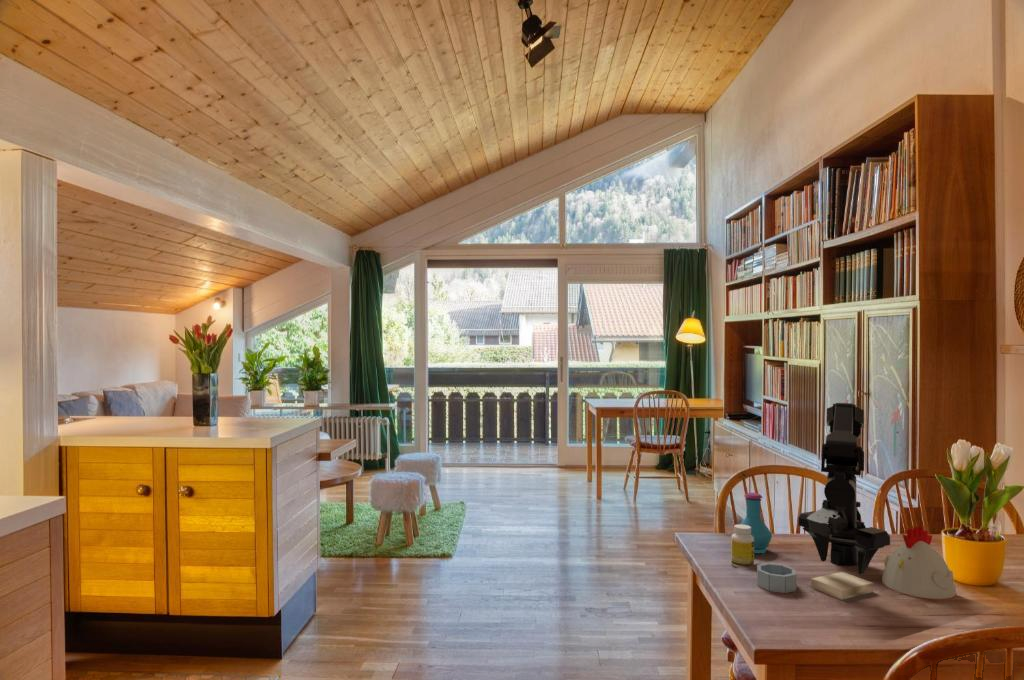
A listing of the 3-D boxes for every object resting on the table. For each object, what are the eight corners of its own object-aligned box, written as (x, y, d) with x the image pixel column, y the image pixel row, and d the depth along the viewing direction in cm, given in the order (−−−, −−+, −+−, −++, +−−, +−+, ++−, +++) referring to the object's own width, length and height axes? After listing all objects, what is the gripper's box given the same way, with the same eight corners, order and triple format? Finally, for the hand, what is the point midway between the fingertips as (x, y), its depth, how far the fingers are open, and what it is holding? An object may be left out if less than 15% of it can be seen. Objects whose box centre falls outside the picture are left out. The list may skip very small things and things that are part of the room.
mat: (837, 585, 146) (837, 578, 146) (878, 601, 137) (878, 594, 137) (806, 592, 141) (806, 585, 141) (847, 609, 132) (847, 602, 132)
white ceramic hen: (868, 587, 145) (867, 521, 145) (910, 579, 150) (910, 515, 150) (926, 610, 132) (926, 538, 132) (971, 601, 137) (971, 532, 137)
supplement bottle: (755, 570, 155) (755, 530, 155) (732, 568, 156) (732, 528, 157) (752, 562, 161) (752, 524, 161) (729, 561, 162) (729, 522, 162)
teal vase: (768, 557, 165) (768, 499, 165) (731, 551, 169) (731, 495, 170) (774, 547, 172) (774, 492, 172) (739, 542, 177) (739, 488, 177)
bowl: (775, 583, 147) (775, 561, 147) (804, 595, 140) (803, 572, 140) (749, 588, 143) (749, 566, 144) (777, 601, 136) (777, 578, 136)
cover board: (842, 580, 145) (842, 571, 145) (872, 592, 138) (873, 582, 138) (811, 587, 140) (811, 578, 140) (841, 599, 133) (841, 590, 133)
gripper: (780, 491, 144) (780, 559, 144) (855, 510, 127) (856, 588, 127) (815, 486, 149) (815, 552, 149) (891, 504, 132) (891, 579, 132)
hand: (841, 567), depth 139 cm, fingers open, 9 cm apart
